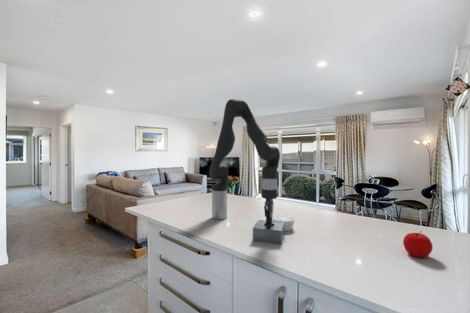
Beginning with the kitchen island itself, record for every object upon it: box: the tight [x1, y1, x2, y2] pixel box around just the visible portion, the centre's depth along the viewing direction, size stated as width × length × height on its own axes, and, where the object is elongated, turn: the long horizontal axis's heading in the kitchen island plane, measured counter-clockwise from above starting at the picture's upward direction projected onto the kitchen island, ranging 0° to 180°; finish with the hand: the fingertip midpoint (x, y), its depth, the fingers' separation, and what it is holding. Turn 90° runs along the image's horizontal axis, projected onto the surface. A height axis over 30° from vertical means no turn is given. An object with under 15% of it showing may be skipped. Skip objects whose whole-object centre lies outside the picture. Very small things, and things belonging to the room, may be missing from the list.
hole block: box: [252, 219, 285, 245], centre depth 110 cm, size 13×13×6 cm
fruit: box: [402, 230, 433, 258], centre depth 91 cm, size 9×9×10 cm
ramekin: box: [272, 215, 295, 232], centre depth 124 cm, size 11×11×5 cm
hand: (269, 223), depth 110 cm, fingers closed on walnut peg, 3 cm apart
